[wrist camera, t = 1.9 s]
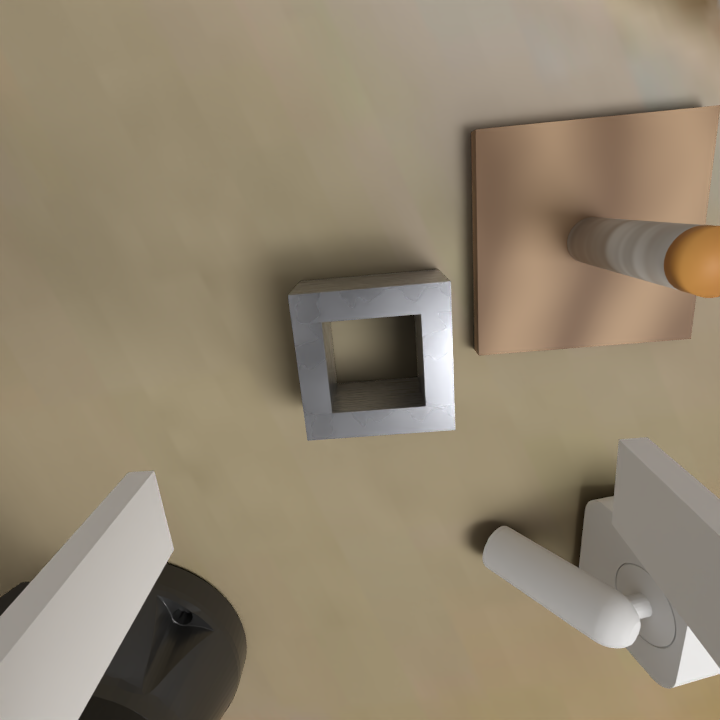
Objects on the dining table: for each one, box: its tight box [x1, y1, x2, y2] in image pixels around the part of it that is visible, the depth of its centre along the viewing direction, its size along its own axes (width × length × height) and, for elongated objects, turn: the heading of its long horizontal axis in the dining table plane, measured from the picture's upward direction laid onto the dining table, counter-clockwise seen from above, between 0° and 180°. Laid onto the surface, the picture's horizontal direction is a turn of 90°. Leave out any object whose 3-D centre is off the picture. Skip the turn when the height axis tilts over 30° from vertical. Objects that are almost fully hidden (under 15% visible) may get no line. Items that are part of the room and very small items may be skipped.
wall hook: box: [483, 496, 720, 688], centre depth 29 cm, size 8×10×10 cm
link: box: [288, 269, 455, 440], centre depth 27 cm, size 8×8×4 cm
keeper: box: [471, 105, 720, 355], centre depth 22 cm, size 12×12×11 cm
